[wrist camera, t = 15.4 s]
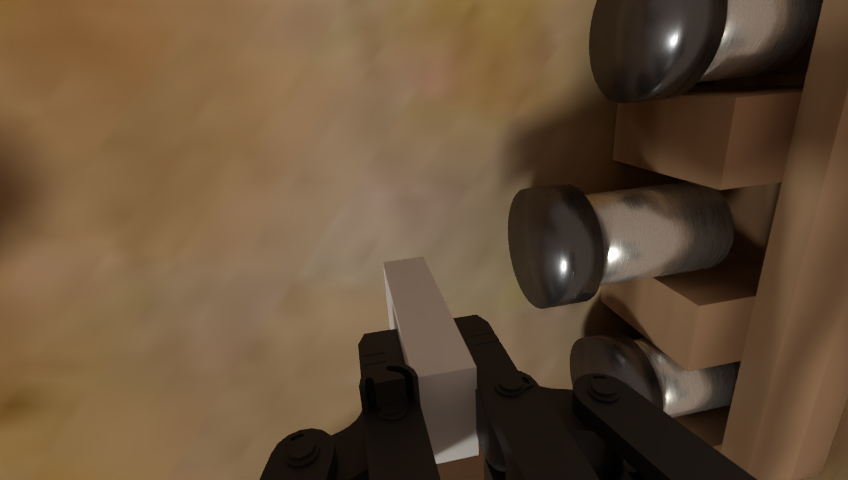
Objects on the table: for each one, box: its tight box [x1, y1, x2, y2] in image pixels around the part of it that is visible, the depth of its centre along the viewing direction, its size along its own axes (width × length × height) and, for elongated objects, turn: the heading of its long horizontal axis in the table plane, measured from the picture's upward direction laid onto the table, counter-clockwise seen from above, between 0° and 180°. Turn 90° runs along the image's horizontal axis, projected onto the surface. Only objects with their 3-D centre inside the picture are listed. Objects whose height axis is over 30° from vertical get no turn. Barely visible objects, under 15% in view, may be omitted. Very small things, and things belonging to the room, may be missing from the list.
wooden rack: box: [600, 0, 848, 480], centre depth 22 cm, size 8×27×9 cm, turn 5°
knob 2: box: [508, 181, 734, 309], centre depth 21 cm, size 9×6×6 cm, turn 95°
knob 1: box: [589, 0, 823, 103], centre depth 19 cm, size 9×6×6 cm, turn 95°
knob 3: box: [570, 332, 741, 418], centre depth 25 cm, size 9×6×6 cm, turn 95°
